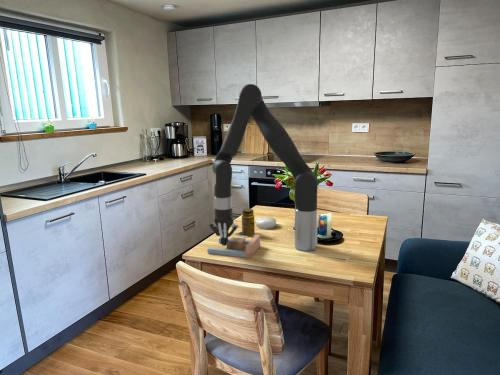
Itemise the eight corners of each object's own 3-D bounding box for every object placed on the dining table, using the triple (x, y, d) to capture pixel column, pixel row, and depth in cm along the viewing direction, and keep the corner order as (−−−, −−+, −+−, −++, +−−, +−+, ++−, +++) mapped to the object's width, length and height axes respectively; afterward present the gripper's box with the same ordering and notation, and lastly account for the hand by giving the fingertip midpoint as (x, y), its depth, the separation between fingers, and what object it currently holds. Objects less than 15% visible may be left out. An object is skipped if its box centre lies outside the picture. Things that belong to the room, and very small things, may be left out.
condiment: (258, 234, 179) (257, 210, 176) (243, 238, 174) (242, 213, 172) (249, 230, 185) (249, 207, 182) (235, 233, 180) (234, 210, 178)
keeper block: (245, 247, 164) (245, 238, 163) (240, 253, 157) (239, 244, 156) (232, 245, 166) (232, 237, 165) (226, 251, 159) (226, 242, 158)
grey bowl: (278, 224, 194) (277, 217, 193) (273, 230, 185) (273, 223, 184) (259, 222, 197) (259, 216, 196) (254, 228, 188) (254, 222, 187)
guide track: (260, 245, 164) (260, 234, 163) (250, 257, 151) (250, 246, 150) (220, 241, 170) (219, 231, 169) (207, 253, 157) (207, 242, 156)
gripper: (240, 205, 160) (241, 243, 163) (212, 203, 164) (213, 240, 167) (234, 210, 153) (235, 249, 156) (205, 207, 157) (207, 246, 160)
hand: (224, 245), depth 162 cm, fingers closed
